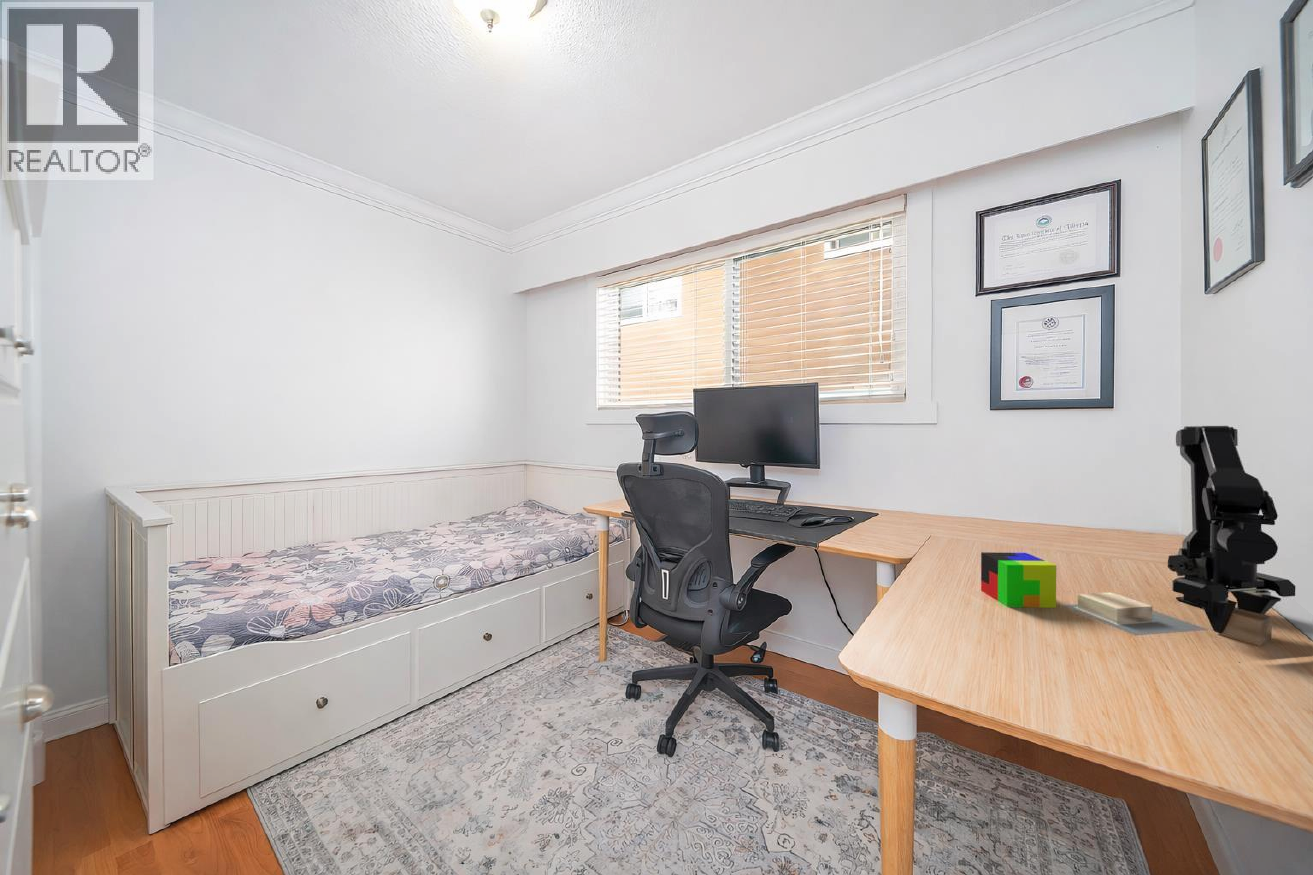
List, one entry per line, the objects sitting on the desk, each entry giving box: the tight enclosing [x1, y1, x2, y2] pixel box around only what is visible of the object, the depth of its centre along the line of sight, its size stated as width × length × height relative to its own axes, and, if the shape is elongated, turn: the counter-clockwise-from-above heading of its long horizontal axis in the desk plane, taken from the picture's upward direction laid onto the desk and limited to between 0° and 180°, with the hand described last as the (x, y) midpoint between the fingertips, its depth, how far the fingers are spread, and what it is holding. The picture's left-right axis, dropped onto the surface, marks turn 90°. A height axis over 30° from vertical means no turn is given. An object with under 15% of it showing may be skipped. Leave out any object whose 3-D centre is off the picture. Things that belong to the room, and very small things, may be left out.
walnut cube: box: [1218, 607, 1273, 647], centre depth 90 cm, size 5×5×5 cm
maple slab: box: [1077, 591, 1153, 623], centre depth 101 cm, size 8×8×3 cm
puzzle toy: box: [980, 551, 1057, 608], centre depth 111 cm, size 10×10×10 cm
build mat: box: [1060, 603, 1209, 636], centre depth 100 cm, size 16×15×1 cm
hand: (1231, 631), depth 91 cm, fingers closed on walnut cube, 5 cm apart
